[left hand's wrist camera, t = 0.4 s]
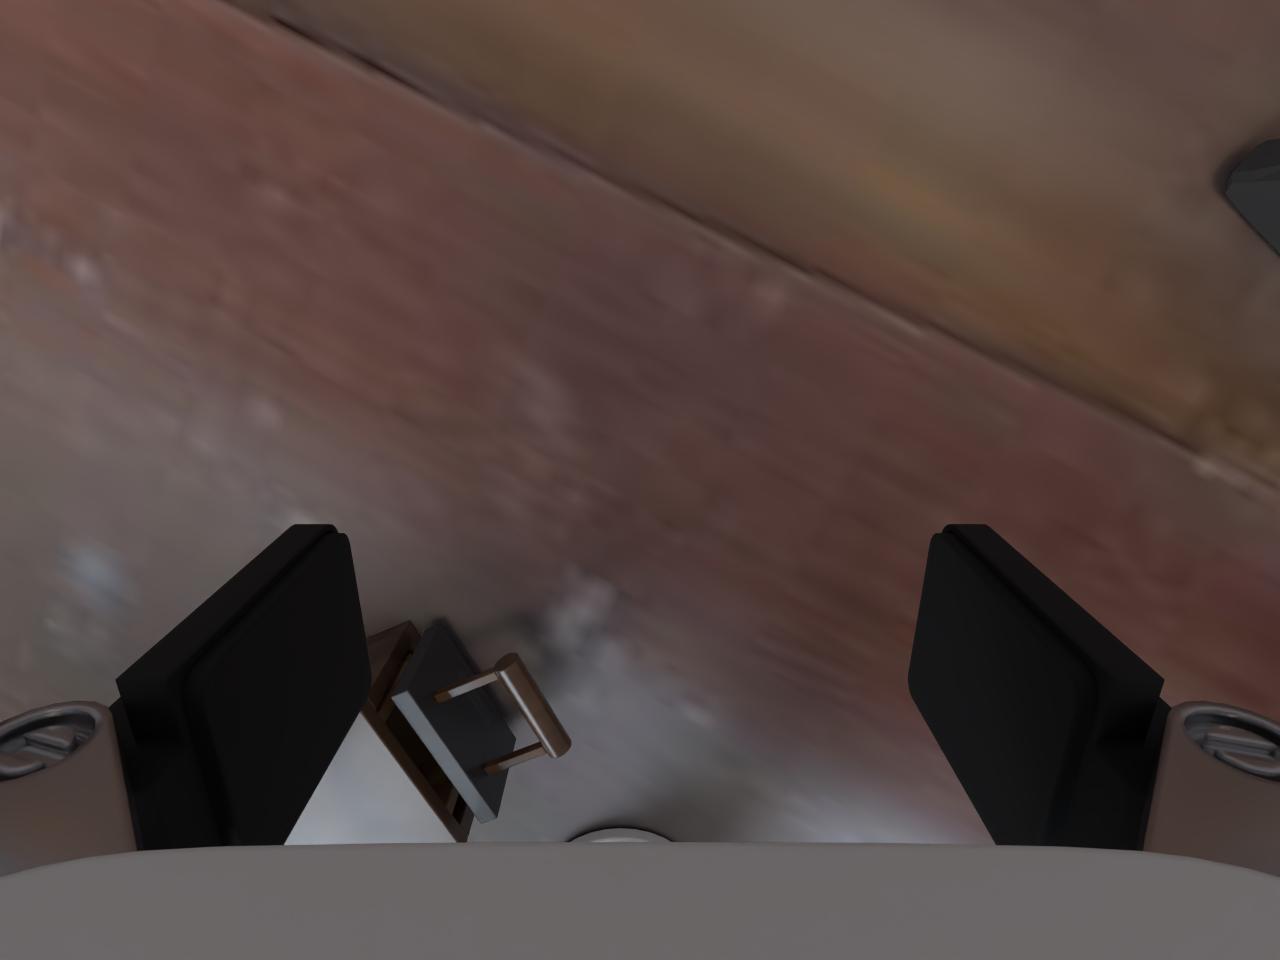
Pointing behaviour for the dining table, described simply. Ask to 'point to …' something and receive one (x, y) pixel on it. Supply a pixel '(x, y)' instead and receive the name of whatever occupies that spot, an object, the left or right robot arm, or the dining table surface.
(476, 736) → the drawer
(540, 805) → the dining table surface
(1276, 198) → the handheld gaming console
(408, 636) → the dark wooden block
